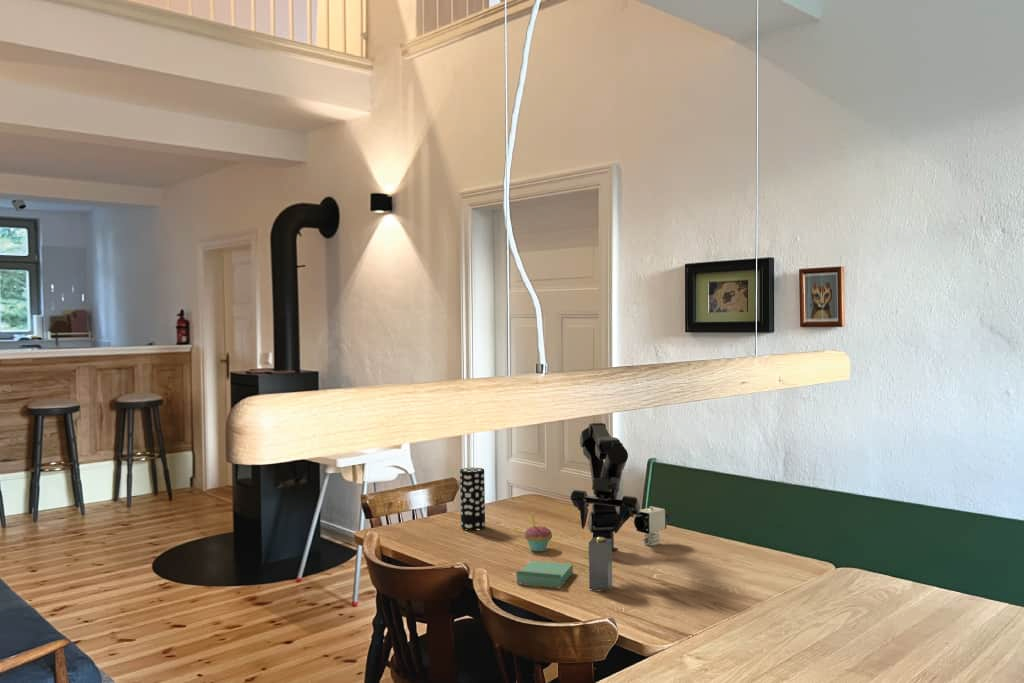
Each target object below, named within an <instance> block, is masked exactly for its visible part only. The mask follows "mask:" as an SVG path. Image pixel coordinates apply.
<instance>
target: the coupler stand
mask: <svg viewBox="0 0 1024 683" xmlns="http://www.w3.org/2000/svg"><path fill="white" fill-rule="evenodd" d="M573 568H574V565H573V563H565V562H564V563H563V562H552V561H540V560H531V561H530V562H528V564H526V565H525V566H524V567H523V568H522V569H518V570H516V584H517V583H521V584H520V585H522V584H527V585H526V586H532V585H536V586H535V587H542V586H546V587H545V588H552V587H559V588H558V589H561V588H562V587H563V586H564V585H565V583H566V582H567V581H568V580H569V578H570V577H571V576H572V575H573V573H574V571H573V570H574V569H573ZM571 574H572V575H571ZM570 575H571V576H570ZM566 580H567V581H566ZM565 581H566V582H565ZM564 582H565V583H564ZM561 586H562V587H561ZM560 587H561V588H560Z"/></svg>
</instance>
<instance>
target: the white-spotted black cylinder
mask: <svg viewBox="0 0 1024 683" xmlns="http://www.w3.org/2000/svg"><path fill="white" fill-rule="evenodd" d="M459 484H460V485H459V487H460V488H459V490H460V498H459V499H460V529H461V528H462V529H467V530H477V529H482V530H484V529H486V501H485V500H486V497H485V496H486V493H485V492H486V491H485V490H486V489H485V468H482V467H465V468H464V467H463V468H461V469H459ZM483 528H484V529H483ZM462 529H461V530H462Z"/></svg>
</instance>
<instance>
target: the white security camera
mask: <svg viewBox="0 0 1024 683" xmlns="http://www.w3.org/2000/svg"><path fill="white" fill-rule="evenodd" d="M669 520H670V517H669V514H668V512H667V509H666V508H663V507H658V506H652V505H651V506H649V507H648V508H644V509H643V508H642V509H640V511H639V514H638V515H635V517H634V519H633V524H634V528H636V532H639V533H643V537H644V538H643V545H645V544H646V545H647V546H650V547H655V546H659V545H660V542H659V541H660V540H661V537H660V534H659V533H658V532H659V531H663V530H666V529H667V524H668V522H669ZM658 544H659V545H658ZM646 545H645V546H646Z"/></svg>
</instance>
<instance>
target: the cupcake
mask: <svg viewBox="0 0 1024 683" xmlns="http://www.w3.org/2000/svg"><path fill="white" fill-rule="evenodd" d="M530 517H531V522H532V526H531V527H528V528H527V529H526V531H525V532H524V537H523V538H524V539H526V541H527V542H528V545H529V548H530V551H532V550H533V551H532V552H537V551H540V552H544V551H546V550H547V547H548V544H549V542H550V540H552V538H553V534H552V531H551V529H550V528H548V527H546V526H542V525H536V524H535V517H534V513H533V512H532V511H530ZM543 550H544V551H543Z"/></svg>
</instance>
